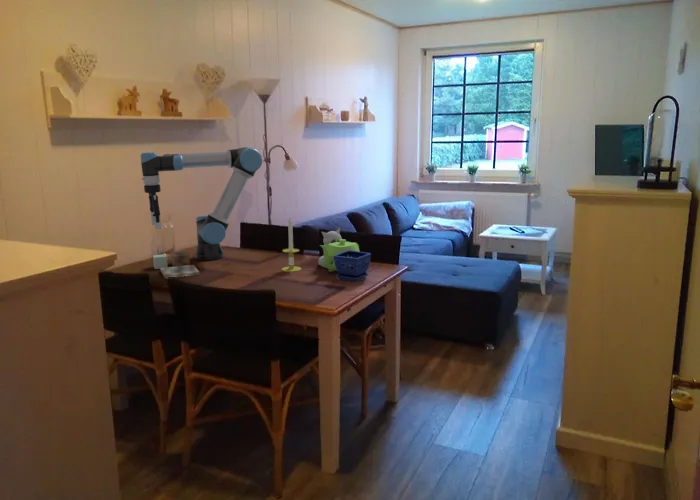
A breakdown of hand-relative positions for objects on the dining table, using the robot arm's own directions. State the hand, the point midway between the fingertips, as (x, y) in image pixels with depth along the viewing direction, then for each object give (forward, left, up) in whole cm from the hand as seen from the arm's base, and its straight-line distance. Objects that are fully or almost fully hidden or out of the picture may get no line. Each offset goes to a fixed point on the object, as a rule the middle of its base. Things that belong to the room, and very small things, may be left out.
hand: (156, 226), depth 277 cm
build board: (-8, +15, -21) cm, 27 cm away
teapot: (-78, +44, -21) cm, 92 cm away
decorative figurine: (-81, +34, -21) cm, 90 cm away
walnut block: (-11, -1, -21) cm, 24 cm away
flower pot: (-79, +61, -21) cm, 102 cm away
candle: (-59, +32, -21) cm, 71 cm away
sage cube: (-1, -1, -21) cm, 21 cm away
